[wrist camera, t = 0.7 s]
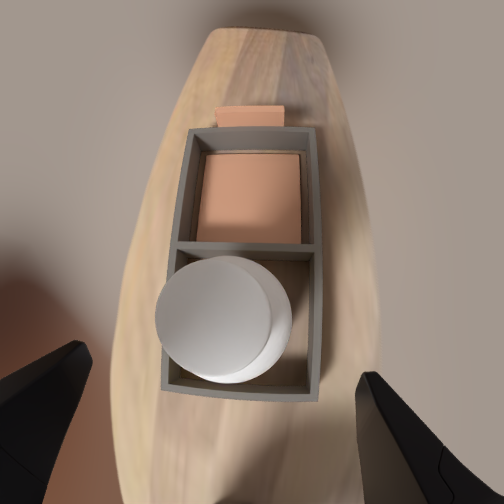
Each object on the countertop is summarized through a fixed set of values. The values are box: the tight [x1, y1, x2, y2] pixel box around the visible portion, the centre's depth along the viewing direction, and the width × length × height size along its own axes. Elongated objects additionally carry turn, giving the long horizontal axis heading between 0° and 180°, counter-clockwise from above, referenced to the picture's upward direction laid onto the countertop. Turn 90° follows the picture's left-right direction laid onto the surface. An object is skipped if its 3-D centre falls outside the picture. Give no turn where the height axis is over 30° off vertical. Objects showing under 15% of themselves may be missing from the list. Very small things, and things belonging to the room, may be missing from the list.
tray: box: [161, 106, 323, 402], centre depth 22 cm, size 24×12×5 cm, turn 178°
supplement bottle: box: [155, 256, 292, 383], centre depth 17 cm, size 7×7×13 cm
